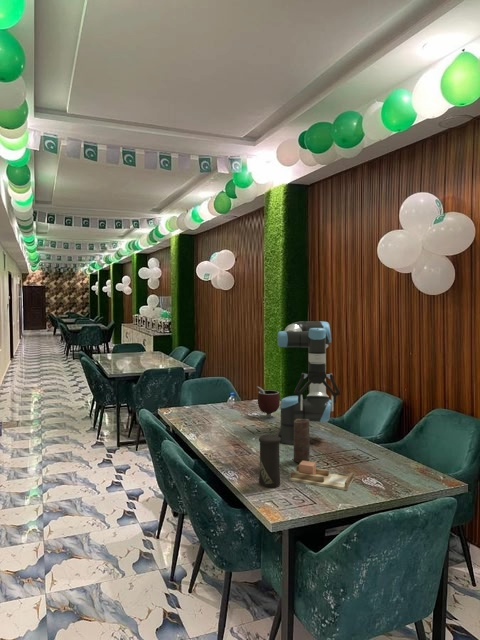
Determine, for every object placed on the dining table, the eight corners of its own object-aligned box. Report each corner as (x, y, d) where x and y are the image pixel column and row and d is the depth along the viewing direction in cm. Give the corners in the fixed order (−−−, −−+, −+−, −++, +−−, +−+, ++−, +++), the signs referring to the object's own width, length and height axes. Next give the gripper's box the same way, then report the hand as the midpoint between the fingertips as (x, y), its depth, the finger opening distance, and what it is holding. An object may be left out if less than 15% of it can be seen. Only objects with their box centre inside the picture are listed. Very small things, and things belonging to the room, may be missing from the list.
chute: (289, 480, 192) (289, 473, 192) (298, 470, 203) (298, 464, 203) (347, 490, 182) (347, 482, 182) (353, 479, 193) (353, 472, 193)
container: (257, 480, 192) (257, 433, 191) (278, 479, 193) (278, 432, 192) (260, 489, 184) (260, 439, 183) (282, 488, 184) (282, 438, 183)
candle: (305, 466, 209) (305, 422, 208) (290, 463, 212) (290, 420, 212) (312, 461, 215) (312, 418, 214) (297, 458, 219) (297, 416, 218)
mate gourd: (283, 418, 293) (283, 386, 292) (273, 423, 282) (273, 390, 281) (262, 414, 302) (262, 384, 301) (251, 419, 290) (251, 388, 289)
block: (298, 475, 194) (298, 464, 194) (302, 471, 198) (302, 460, 198) (312, 478, 191) (312, 466, 191) (316, 474, 196) (316, 462, 196)
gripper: (288, 363, 203) (288, 411, 204) (346, 364, 200) (346, 413, 200) (289, 361, 211) (289, 407, 212) (345, 362, 207) (344, 409, 208)
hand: (316, 410), depth 206 cm, fingers open, 13 cm apart
